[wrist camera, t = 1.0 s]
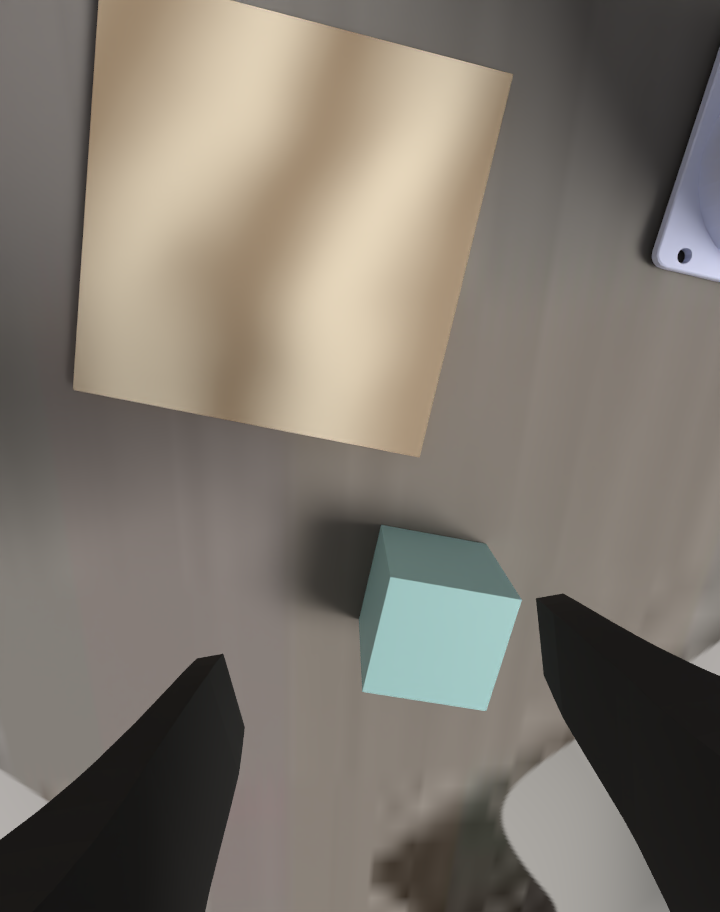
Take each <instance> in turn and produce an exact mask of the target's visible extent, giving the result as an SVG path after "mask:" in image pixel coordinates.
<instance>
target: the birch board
mask: <svg viewBox="0 0 720 912" xmlns="http://www.w3.org/2000/svg"><path fill="white" fill-rule="evenodd" d="M512 78H513V74H510V73H506V72H503V71H499V70H495V69H491V68H487V67H484V66H480V65H476V64H472V63H468V62H464V61H461V60H457V59H453V58H449V57H445V56H441V55H438V54H434V53H430V52H426V51H422V50H419V49H415V48H411V47H407V46H403V45H399V44H396V43H392V42H388V41H384V40H380V39H377V38H373V37H369V36H365V35H361V34H357V33H354V32H350V31H346V30H342V29H338V28H335V27H331V26H327V25H323V24H319V23H315V22H312V21H308V20H304V19H300V18H296V17H293V16H289V15H285V14H281V13H277V12H273V11H270V10H266V9H262V8H258V7H254V6H250V5H247V4H243V3H239V2H235V1H231V0H99V2H98V18H97V33H96V48H95V63H94V78H93V93H92V108H91V123H90V139H89V154H88V169H87V184H86V199H85V214H84V229H83V244H82V260H81V275H80V290H79V305H78V320H77V335H76V350H75V366H74V381H73V390H76V391H81V392H87V393H92V394H97V395H102V396H107V397H112V398H117V399H122V400H128V401H133V402H138V403H143V404H148V405H153V406H158V407H164V408H169V409H174V410H179V411H184V412H189V413H194V414H199V415H205V416H210V417H215V418H220V419H225V420H230V421H235V422H240V423H246V424H251V425H256V426H261V427H266V428H271V429H276V430H282V431H287V432H292V433H297V434H302V435H307V436H312V437H317V438H323V439H328V440H333V441H338V442H343V443H348V444H353V445H358V446H364V447H369V448H374V449H379V450H384V451H389V452H394V453H399V454H405V455H410V456H415V457H420V453H421V449H422V445H423V441H424V437H425V433H426V429H427V424H428V420H429V416H430V412H431V408H432V404H433V400H434V396H435V392H436V388H437V384H438V380H439V376H440V371H441V367H442V363H443V359H444V355H445V351H446V347H447V343H448V339H449V335H450V331H451V327H452V322H453V318H454V314H455V310H456V306H457V302H458V298H459V294H460V290H461V286H462V282H463V278H464V274H465V269H466V265H467V261H468V257H469V253H470V249H471V245H472V241H473V237H474V233H475V229H476V225H477V220H478V216H479V212H480V208H481V204H482V200H483V196H484V192H485V188H486V184H487V180H488V176H489V171H490V167H491V163H492V159H493V155H494V151H495V147H496V143H497V139H498V135H499V131H500V127H501V123H502V118H503V114H504V110H505V106H506V102H507V98H508V94H509V90H510V86H511V82H512Z"/></svg>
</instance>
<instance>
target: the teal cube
mask: <svg viewBox="0 0 720 912" xmlns="http://www.w3.org/2000/svg"><path fill="white" fill-rule="evenodd" d="M521 601H522V600H521V598H520V596H519V595H518V593H517V592H516V590H515V589H514V587H513V585H512V584H511V582H510V581H509V579H508V578H507V576H506V574H505V573H504V571H503V570H502V568H501V567H500V565H499V563H498V562H497V560H496V559H495V557H494V556H493V554H492V552H491V551H490V549H489V548H488V546H487V545H486V544H484V543H478V542H473V541H467V540H462V539H456V538H451V537H446V536H440V535H435V534H429V533H424V532H418V531H413V530H407V529H402V528H396V527H391V526H385V525H381V527H380V532H379V536H378V540H377V545H376V549H375V553H374V557H373V562H372V566H371V570H370V575H369V579H368V583H367V587H366V592H365V596H364V600H363V605H362V609H361V613H360V617H359V632H360V652H361V673H362V692H367V693H374V694H380V695H386V696H393V697H399V698H406V699H412V700H419V701H425V702H431V703H438V704H444V705H451V706H457V707H464V708H470V709H476V710H483V711H486V710H487V707H488V704H489V700H490V697H491V694H492V691H493V688H494V685H495V682H496V679H497V675H498V672H499V669H500V666H501V663H502V660H503V657H504V654H505V651H506V647H507V644H508V641H509V638H510V635H511V632H512V629H513V626H514V622H515V619H516V616H517V613H518V610H519V607H520V604H521Z"/></svg>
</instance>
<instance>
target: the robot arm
mask: <svg viewBox="0 0 720 912" xmlns="http://www.w3.org/2000/svg"><path fill="white" fill-rule="evenodd" d="M680 250H682V251H683V252H684V254H685V259H684V261H683V262H682V263H680V262H679V261H678V259H677V256H678V253H679V251H680ZM652 260H653V263H654V264H655V265H656V266H657V267H659V268H661V269H665V270H669V271H674V272H678V273H682V274H686V275H691V276H695V277H699V278H703V279H708V280H712V281H716V282H720V47H719V50H718V54H717V57H716V60H715V63H714V66H713V69H712V72H711V75H710V78H709V81H708V84H707V87H706V90H705V93H704V96H703V99H702V102H701V105H700V108H699V111H698V114H697V117H696V120H695V123H694V126H693V129H692V133H691V136H690V139H689V142H688V145H687V148H686V151H685V154H684V157H683V160H682V163H681V166H680V169H679V172H678V175H677V178H676V181H675V184H674V187H673V190H672V193H671V196H670V199H669V202H668V205H667V208H666V211H665V215H664V218H663V221H662V224H661V227H660V230H659V233H658V236H657V239H656V242H655V245H654V248H653V251H652ZM536 602H537V612H538V622H539V632H540V642H541V652H542V662H543V672H544V676H545V679H546V681H547V683H548V686H549V688H550V690H551V692H552V695H553V697H554V699H555V701H556V704H557V706H558V708H559V710H560V712H561V714H562V717H563V719H564V720H565V722H566V724H567V725H568V727H569V729H570V731H571V732H572V734H573V736H574V737H575V739H576V741H577V742H578V744H579V746H580V747H581V749H582V751H583V752H584V754H585V756H586V757H587V759H588V760H589V762H590V764H591V766H592V767H593V769H594V771H595V772H596V774H597V776H598V777H599V779H600V781H601V782H602V784H603V786H604V787H605V789H606V791H607V792H608V794H609V796H610V797H611V799H612V801H613V802H614V803H615V805H616V807H617V809H618V810H619V812H620V814H621V815H622V817H623V819H624V821H625V822H626V824H627V826H628V828H629V830H630V831H631V833H632V835H633V837H634V839H635V841H636V842H637V844H638V846H639V848H640V850H641V852H642V854H643V856H644V858H645V860H646V862H647V865H648V867H649V869H650V870H651V873H652V875H653V877H654V879H655V881H656V883H657V885H658V887H659V889H660V891H661V893H662V895H663V897H664V899H665V901H666V903H667V906H668V908H669V910H670V912H720V676H718V675H716V674H714V673H711V672H709V671H707V670H705V669H702V668H700V667H698V666H696V665H693V664H691V663H689V662H687V661H685V660H683V659H681V658H679V657H677V656H675V655H673V654H671V653H669V652H667V651H665V650H663V649H661V648H659V647H657V646H655V645H653V644H651V643H649V642H647V641H645V640H644V639H642V638H640V637H638V636H636V635H634V634H633V633H631V632H629V631H627V630H625V629H624V628H622V627H620V626H618V625H617V624H615V623H613V622H611V621H610V620H608V619H606V618H604V617H603V616H601V615H599V614H598V613H596V612H594V611H592V610H591V609H589V608H587V607H586V606H584V605H582V604H581V603H579V602H577V601H575V600H574V599H572V598H570V597H568V596H566V595H565V594H558V595H553V596H547V597H541V598H536ZM244 729H245V727H244V723H243V720H242V716H241V713H240V710H239V706H238V703H237V699H236V696H235V692H234V689H233V686H232V682H231V679H230V675H229V672H228V668H227V665H226V662H225V658H224V655H223V654H220V655H214V656H208V657H203V658H197V659H196V660H195V661H194V662H193V663H192V664H191V665H190V666H189V667H188V668H187V669H186V670H185V671H184V672H183V673H182V674H181V675H180V676H179V677H178V678H177V679H176V680H175V681H174V683H173V684H172V685H171V686H170V687H169V688H168V689H167V690H166V691H165V692H164V693H163V694H162V695H161V696H160V697H159V698H158V700H157V701H156V702H155V703H154V704H153V705H152V706H151V707H150V708H149V709H148V710H147V711H146V712H145V713H144V714H143V715H142V716H141V717H140V718H139V719H138V720H137V722H136V723H135V724H134V725H133V726H132V727H131V728H130V729H129V730H127V731H126V732H125V733H124V734H123V735H122V736H121V737H120V738H119V739H118V740H117V741H116V742H115V743H114V744H113V745H112V746H111V747H110V748H109V749H108V750H107V751H106V752H105V753H104V754H103V755H102V756H101V757H100V758H99V759H98V760H97V761H96V762H95V763H93V764H92V765H91V766H90V767H89V768H88V769H87V770H86V771H85V772H84V773H82V774H81V775H80V776H79V777H78V778H77V779H76V780H75V781H73V782H72V783H71V784H70V785H69V786H68V787H66V788H65V789H64V790H63V791H62V792H60V793H59V794H58V795H57V796H56V797H55V798H53V799H52V800H51V801H50V802H49V803H47V804H46V805H45V806H44V807H42V808H41V809H40V810H39V811H38V812H36V813H35V814H34V815H32V816H31V817H30V818H28V819H27V820H26V821H25V822H23V823H22V824H20V825H19V826H18V827H17V828H15V829H14V830H13V831H11V832H10V833H9V834H7V835H6V836H5V837H4V838H2V839H1V840H0V912H205V909H206V905H207V900H208V895H209V891H210V886H211V882H212V879H213V875H214V871H215V867H216V863H217V859H218V855H219V851H220V847H221V843H222V839H223V835H224V832H225V828H226V824H227V820H228V816H229V812H230V808H231V804H232V800H233V796H234V792H235V788H236V784H237V779H238V775H239V769H240V762H241V754H242V746H243V737H244Z"/></svg>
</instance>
